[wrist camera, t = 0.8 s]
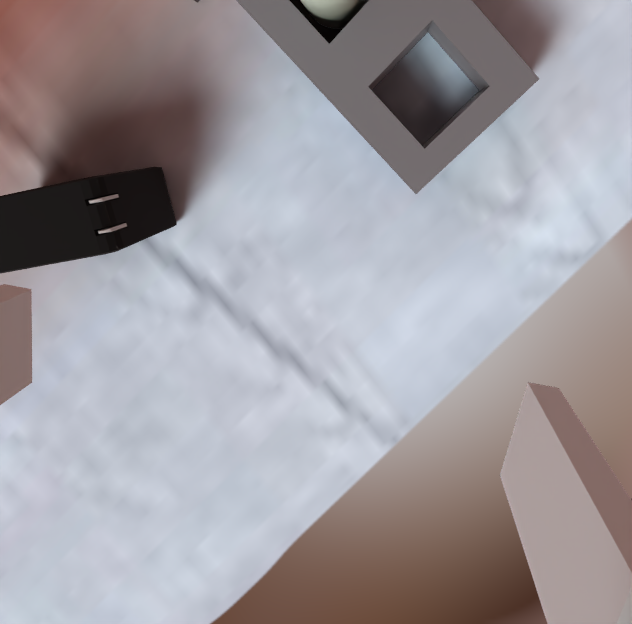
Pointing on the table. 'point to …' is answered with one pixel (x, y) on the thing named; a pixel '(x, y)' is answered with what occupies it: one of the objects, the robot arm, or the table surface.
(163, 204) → the electronic device
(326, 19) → the plug
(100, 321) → the table surface
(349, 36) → the gray cinder block
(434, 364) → the table surface
